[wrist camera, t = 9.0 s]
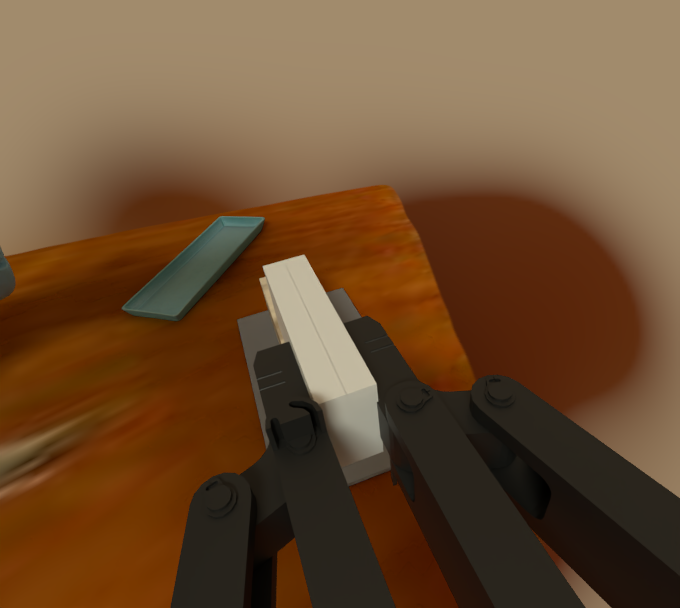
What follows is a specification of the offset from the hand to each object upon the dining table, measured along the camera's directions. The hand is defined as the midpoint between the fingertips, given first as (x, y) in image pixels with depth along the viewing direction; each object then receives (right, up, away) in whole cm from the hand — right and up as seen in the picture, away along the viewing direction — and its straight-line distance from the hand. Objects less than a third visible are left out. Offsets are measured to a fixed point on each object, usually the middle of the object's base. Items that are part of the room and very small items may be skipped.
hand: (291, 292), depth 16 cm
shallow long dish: (-19, +5, +51) cm, 54 cm away
